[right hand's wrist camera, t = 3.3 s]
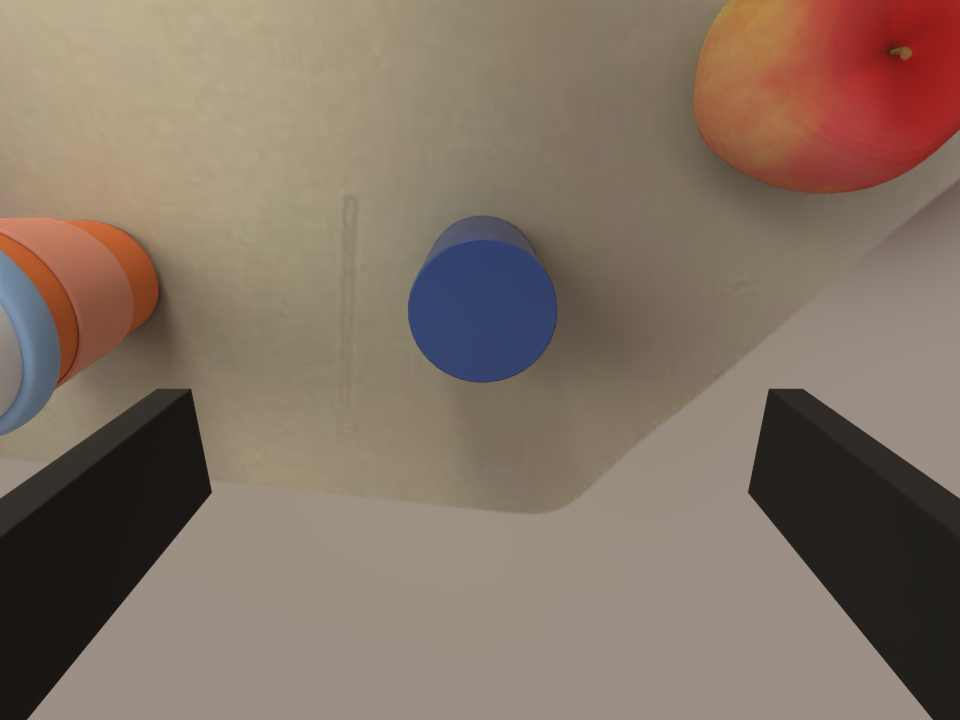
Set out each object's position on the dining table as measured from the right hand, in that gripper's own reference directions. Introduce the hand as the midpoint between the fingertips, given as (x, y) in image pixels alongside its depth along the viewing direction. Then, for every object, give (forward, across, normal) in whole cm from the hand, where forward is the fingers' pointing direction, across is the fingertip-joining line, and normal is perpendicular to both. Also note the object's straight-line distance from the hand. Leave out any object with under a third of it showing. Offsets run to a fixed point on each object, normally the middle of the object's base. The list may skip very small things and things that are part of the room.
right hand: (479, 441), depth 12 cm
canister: (+18, 0, 0) cm, 18 cm away
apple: (+18, +14, +10) cm, 25 cm away
